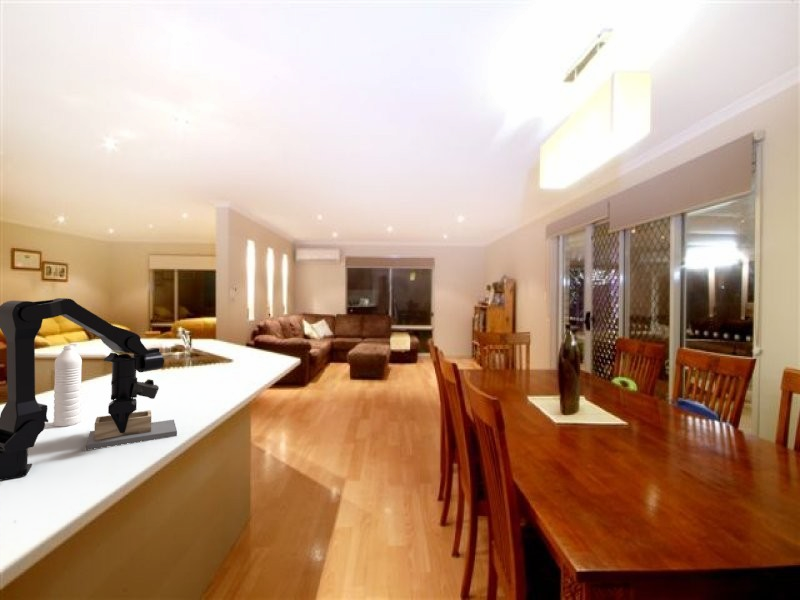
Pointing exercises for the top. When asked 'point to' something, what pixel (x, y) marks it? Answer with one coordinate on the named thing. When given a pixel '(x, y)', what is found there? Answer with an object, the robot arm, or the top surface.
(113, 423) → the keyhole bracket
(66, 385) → the water bottle
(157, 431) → the grey plate with ball
